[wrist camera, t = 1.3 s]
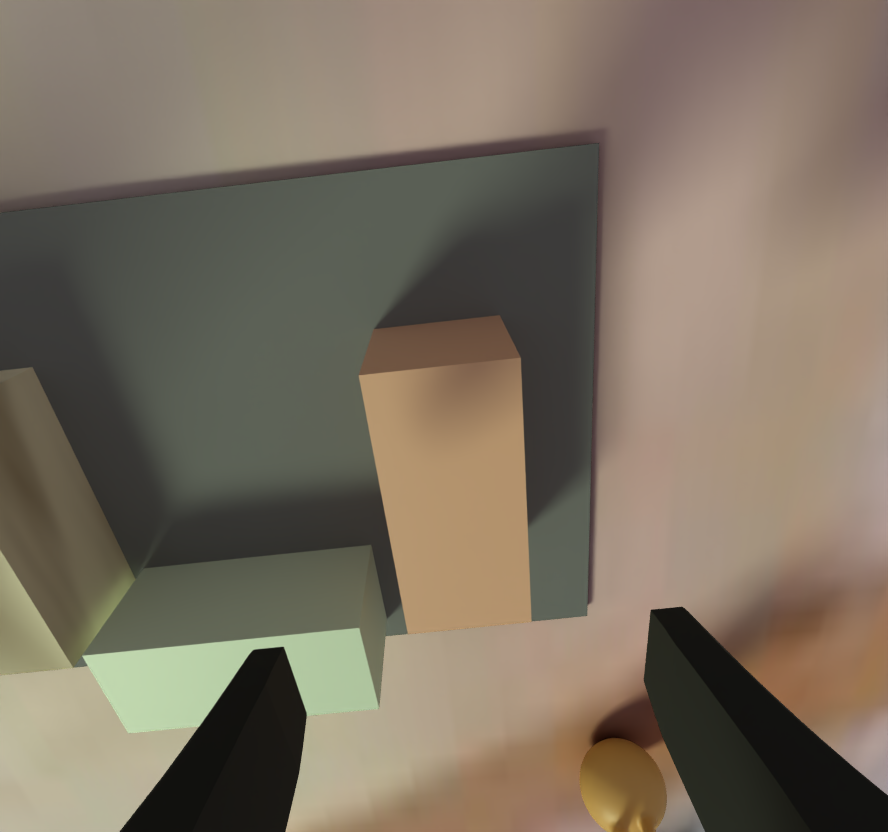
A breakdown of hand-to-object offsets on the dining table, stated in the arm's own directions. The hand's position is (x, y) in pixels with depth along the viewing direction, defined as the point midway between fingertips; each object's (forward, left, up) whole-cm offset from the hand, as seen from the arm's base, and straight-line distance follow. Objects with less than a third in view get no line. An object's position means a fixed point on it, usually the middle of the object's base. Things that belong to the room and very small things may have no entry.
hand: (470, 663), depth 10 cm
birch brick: (-15, 0, -9) cm, 17 cm away
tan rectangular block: (0, 0, -9) cm, 9 cm away
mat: (-8, 0, -9) cm, 12 cm away
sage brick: (-8, -6, -9) cm, 13 cm away
